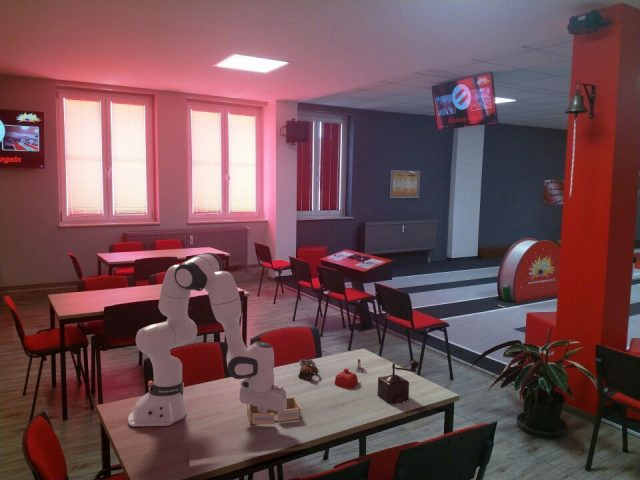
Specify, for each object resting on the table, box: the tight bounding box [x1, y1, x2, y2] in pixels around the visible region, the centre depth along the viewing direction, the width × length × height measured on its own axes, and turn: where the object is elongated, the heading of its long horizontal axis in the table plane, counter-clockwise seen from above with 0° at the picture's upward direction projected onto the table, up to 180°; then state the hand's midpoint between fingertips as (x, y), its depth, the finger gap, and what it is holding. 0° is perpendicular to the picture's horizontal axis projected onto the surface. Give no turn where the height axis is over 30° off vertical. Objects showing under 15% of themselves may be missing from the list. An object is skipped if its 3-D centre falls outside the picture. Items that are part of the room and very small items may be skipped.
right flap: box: [278, 407, 302, 422], centre depth 197 cm, size 9×1×4 cm, turn 106°
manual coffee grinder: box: [377, 360, 420, 405], centre depth 220 cm, size 16×11×18 cm
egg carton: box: [298, 358, 317, 368], centre depth 256 cm, size 11×8×4 cm
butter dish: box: [334, 368, 362, 391], centre depth 235 cm, size 12×12×8 cm
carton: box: [246, 396, 301, 425], centre depth 201 cm, size 20×10×5 cm, turn 106°
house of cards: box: [355, 358, 366, 373], centre depth 251 cm, size 9×9×8 cm
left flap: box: [249, 413, 275, 425], centre depth 193 cm, size 9×1×4 cm, turn 90°
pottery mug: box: [297, 363, 319, 381], centre depth 243 cm, size 12×9×8 cm
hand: (263, 417), depth 194 cm, fingers closed, pressing on left flap
